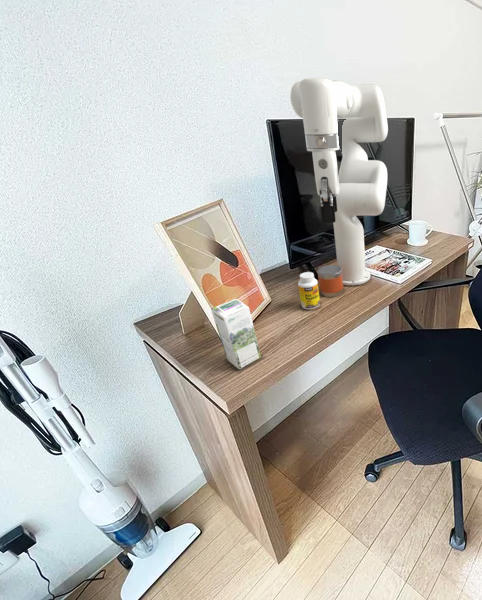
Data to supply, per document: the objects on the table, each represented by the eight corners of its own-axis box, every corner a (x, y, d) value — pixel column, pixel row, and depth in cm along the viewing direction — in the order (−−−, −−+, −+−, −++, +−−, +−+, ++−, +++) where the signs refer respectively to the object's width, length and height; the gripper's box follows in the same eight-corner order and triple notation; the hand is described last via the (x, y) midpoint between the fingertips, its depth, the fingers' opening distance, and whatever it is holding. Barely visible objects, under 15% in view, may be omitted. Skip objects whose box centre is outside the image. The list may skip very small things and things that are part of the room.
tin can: (320, 287, 108) (317, 265, 104) (343, 285, 109) (341, 264, 105) (319, 298, 102) (316, 275, 98) (343, 296, 102) (341, 273, 98)
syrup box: (249, 348, 80) (234, 297, 73) (262, 358, 77) (248, 305, 69) (227, 360, 76) (209, 307, 69) (239, 371, 73) (222, 316, 66)
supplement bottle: (305, 312, 94) (300, 280, 89) (298, 304, 98) (293, 273, 93) (323, 306, 97) (319, 275, 92) (316, 299, 101) (311, 269, 96)
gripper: (337, 145, 68) (344, 226, 76) (340, 140, 83) (345, 207, 91) (300, 146, 67) (311, 227, 76) (310, 140, 82) (318, 208, 91)
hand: (330, 216), depth 83 cm, fingers open, 9 cm apart
